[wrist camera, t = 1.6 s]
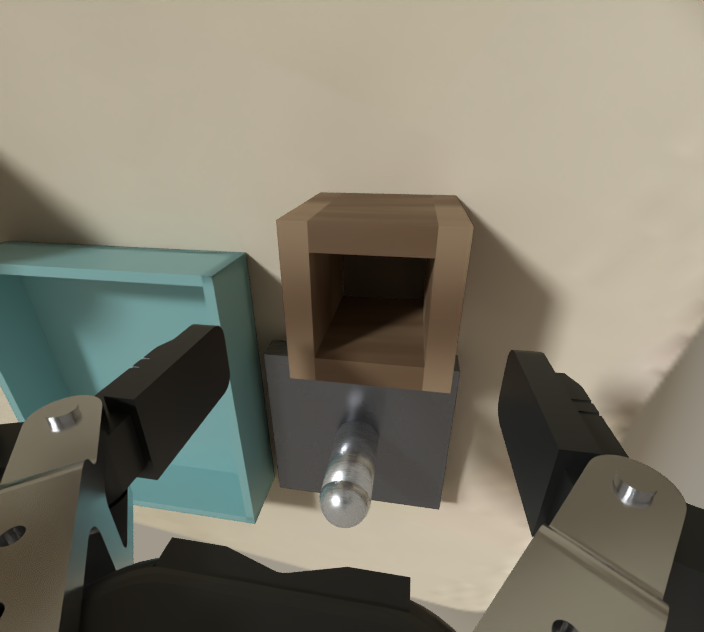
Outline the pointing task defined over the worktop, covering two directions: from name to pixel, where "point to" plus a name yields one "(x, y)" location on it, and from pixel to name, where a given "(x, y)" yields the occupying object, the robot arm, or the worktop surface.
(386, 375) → the hollow wooden cube
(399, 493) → the gauge pin stand
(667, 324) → the worktop surface
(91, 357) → the teal tray
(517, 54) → the worktop surface
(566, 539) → the robot arm
